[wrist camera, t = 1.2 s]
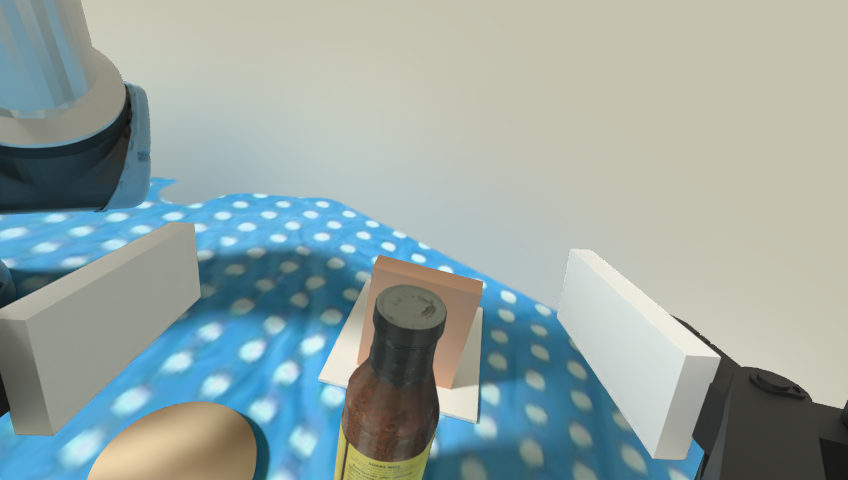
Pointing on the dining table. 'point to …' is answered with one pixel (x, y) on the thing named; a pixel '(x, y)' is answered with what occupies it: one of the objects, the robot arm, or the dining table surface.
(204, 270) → the dining table surface
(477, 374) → the white mat
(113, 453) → the cork coaster
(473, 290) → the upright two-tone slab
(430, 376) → the sauce bottle
